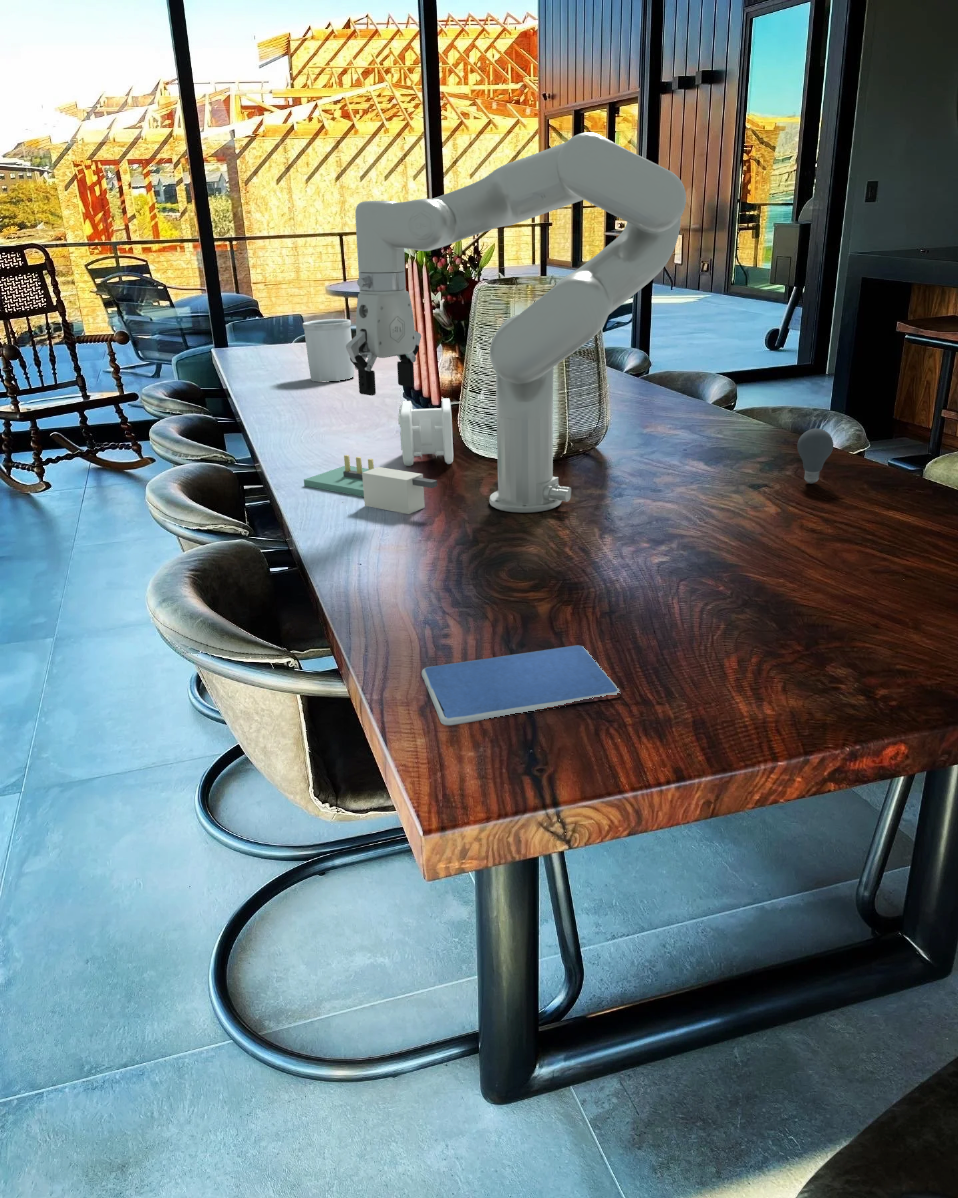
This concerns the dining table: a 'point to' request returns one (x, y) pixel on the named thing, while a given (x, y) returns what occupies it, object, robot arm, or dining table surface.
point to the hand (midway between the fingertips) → (387, 389)
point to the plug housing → (395, 489)
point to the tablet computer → (514, 684)
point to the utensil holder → (328, 349)
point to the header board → (342, 478)
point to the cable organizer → (426, 431)
